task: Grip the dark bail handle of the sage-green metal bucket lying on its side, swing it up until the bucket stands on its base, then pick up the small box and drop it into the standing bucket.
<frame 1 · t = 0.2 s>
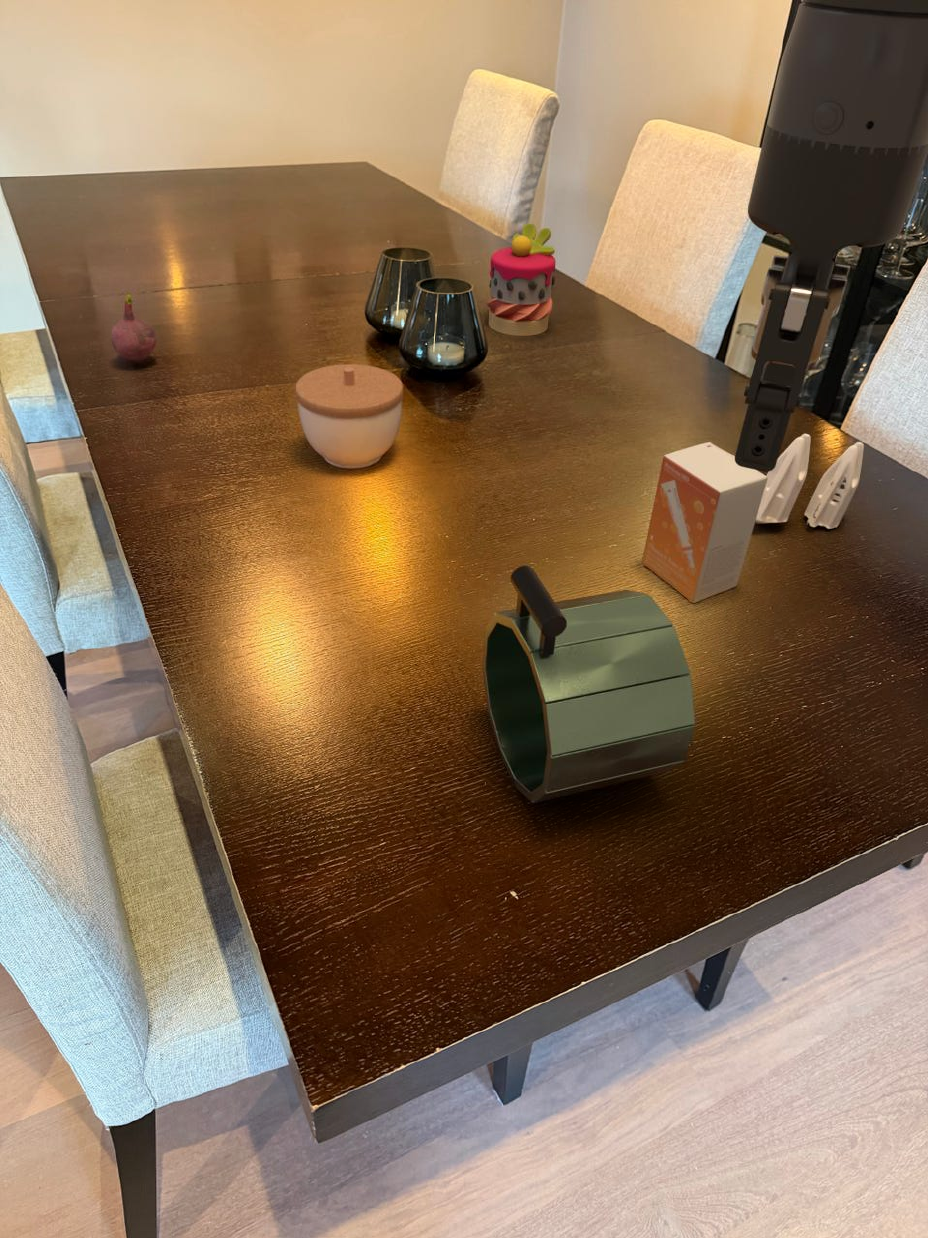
hand: (763, 434, 52), 30 cm above the table, tool pointing down, fingers open, 8 cm apart
shaker set: (793, 524, 102), on the table
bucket: (584, 675, 67), point 9 cm above the table, hinge at 0.0°
cake: (518, 325, 148), on the table
vegetable: (138, 365, 129), on the table
lidded bowl: (352, 455, 111), on the table
small box: (687, 577, 93), on the table
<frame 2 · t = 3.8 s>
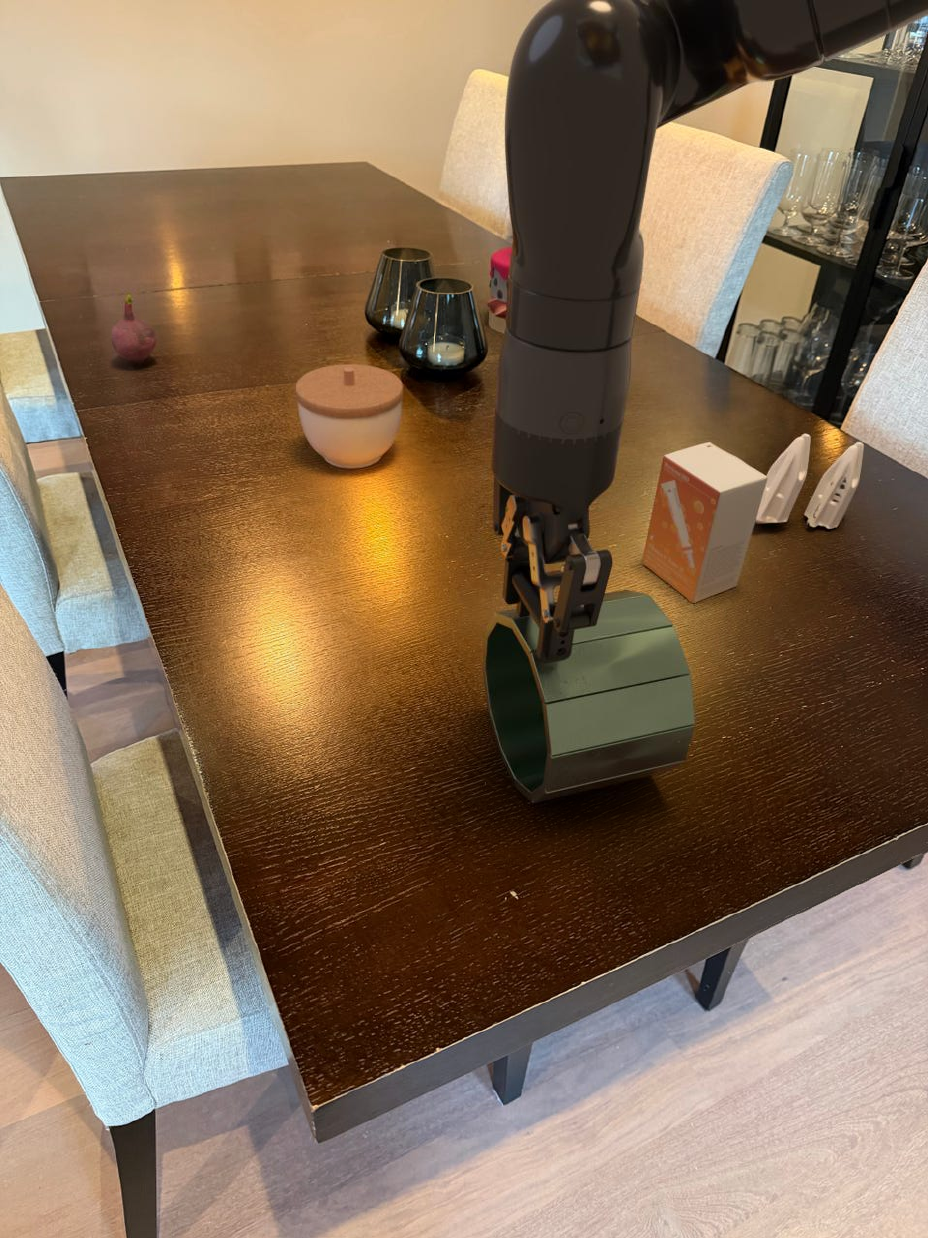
hand: (534, 627, 62), 14 cm above the table, tool pointing down, fingers closed on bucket, 6 cm apart
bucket: (584, 675, 67), point 9 cm above the table, hinge at 0.0°, touching gripper
everything else where it was.
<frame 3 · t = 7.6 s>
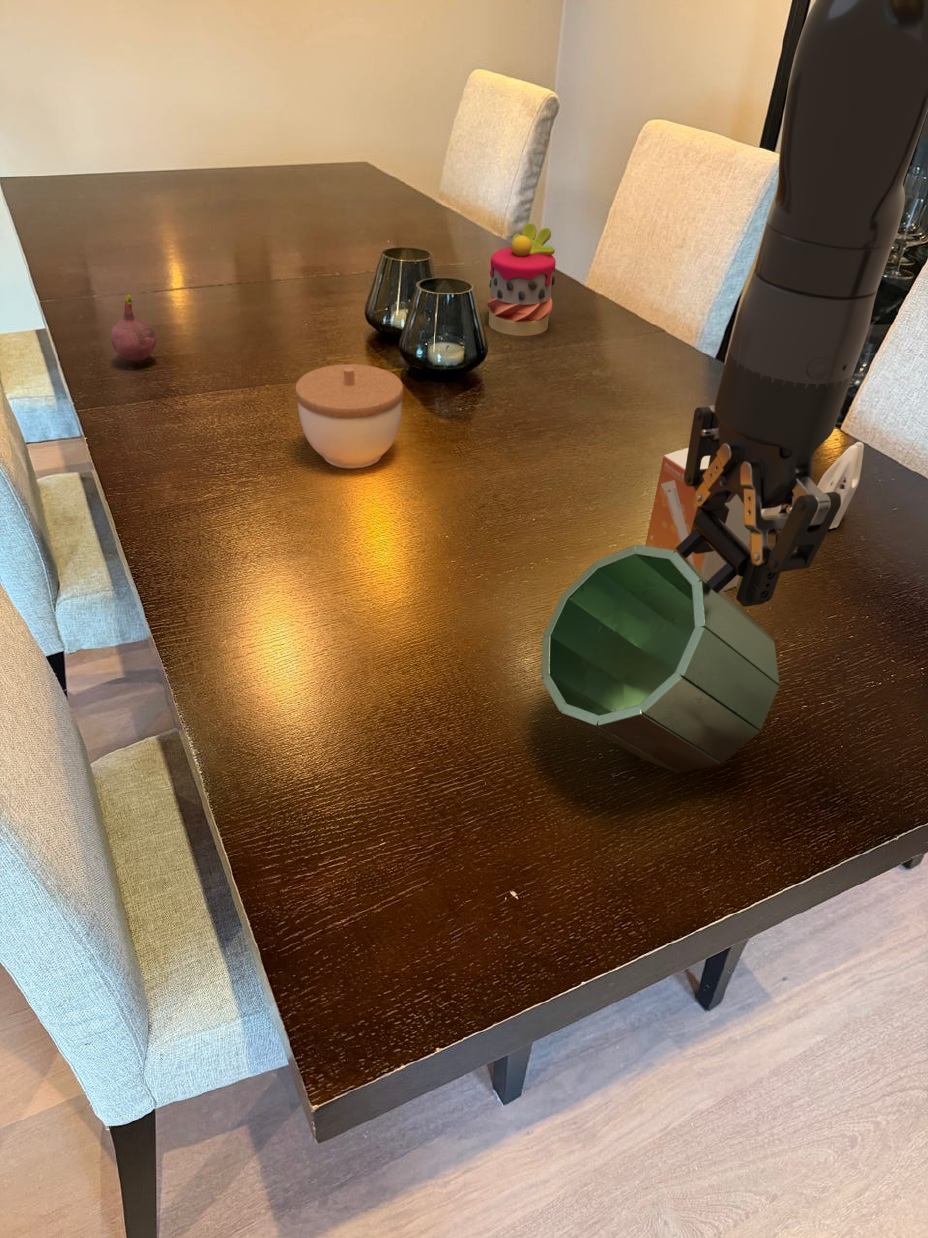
hand: (725, 574, 65), 16 cm above the table, tool pointing down, fingers closed on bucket, 6 cm apart
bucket: (675, 644, 68), point 10 cm above the table, hinge at 42.6°, touching gripper
everything else where it was.
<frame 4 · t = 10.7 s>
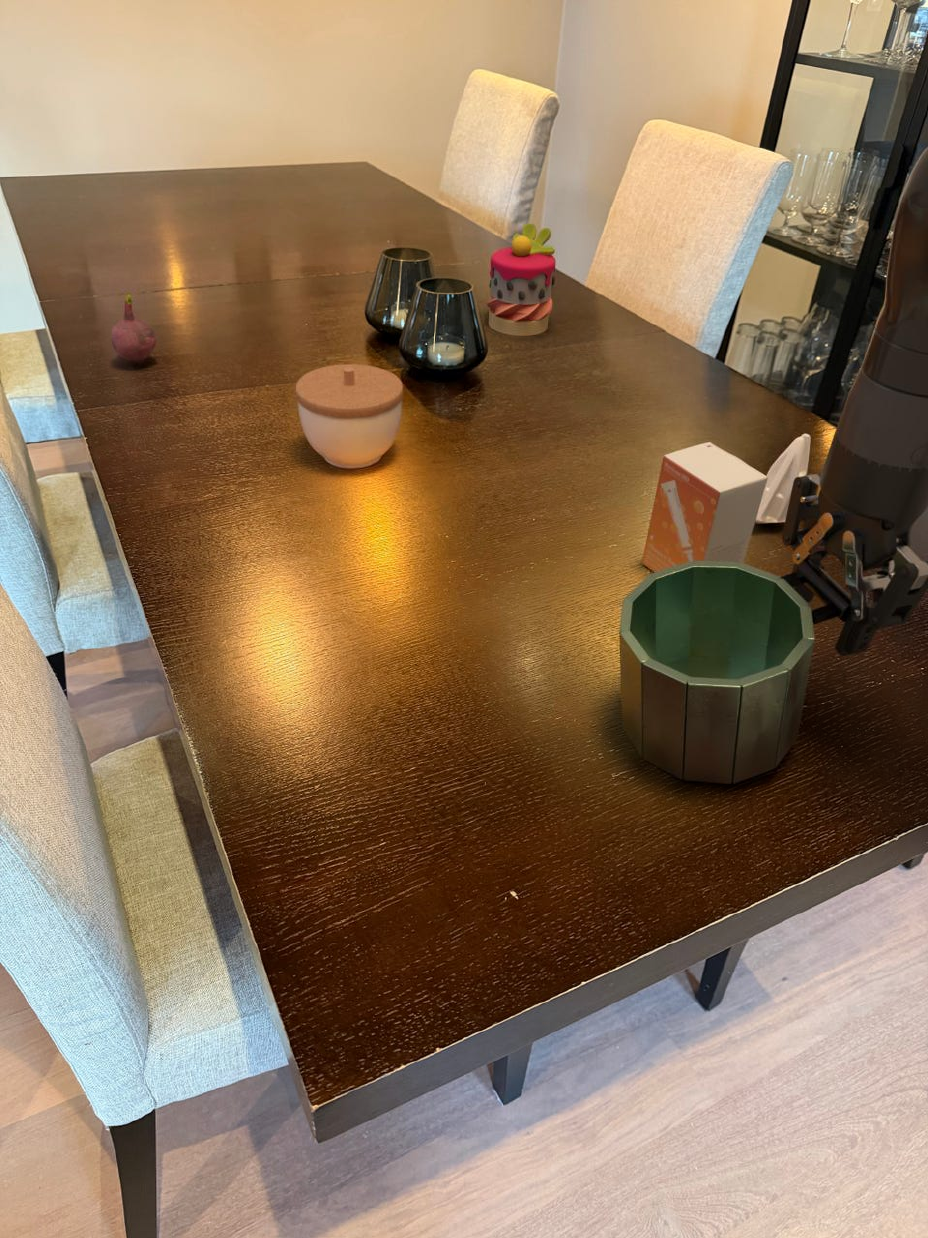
hand: (822, 625, 72), 9 cm above the table, tool pointing down, fingers closed on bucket, 6 cm apart
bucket: (731, 662, 72), point 7 cm above the table, hinge at 79.5°, touching gripper
everything else where it was.
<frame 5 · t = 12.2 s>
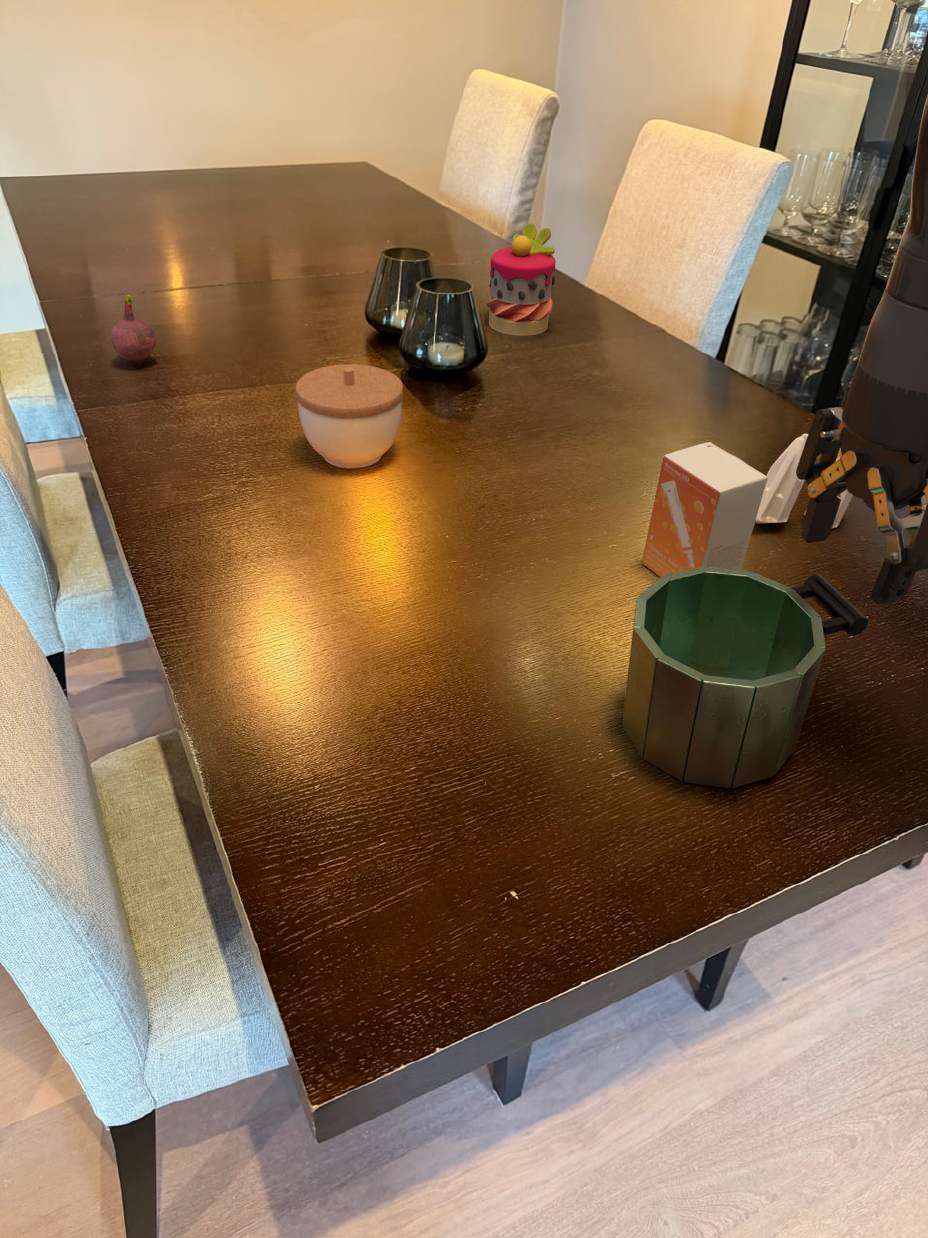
hand: (847, 568, 69), 15 cm above the table, tool pointing down, fingers open, 8 cm apart
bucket: (737, 669, 72), point 6 cm above the table, hinge at 85.8°
everything else where it was.
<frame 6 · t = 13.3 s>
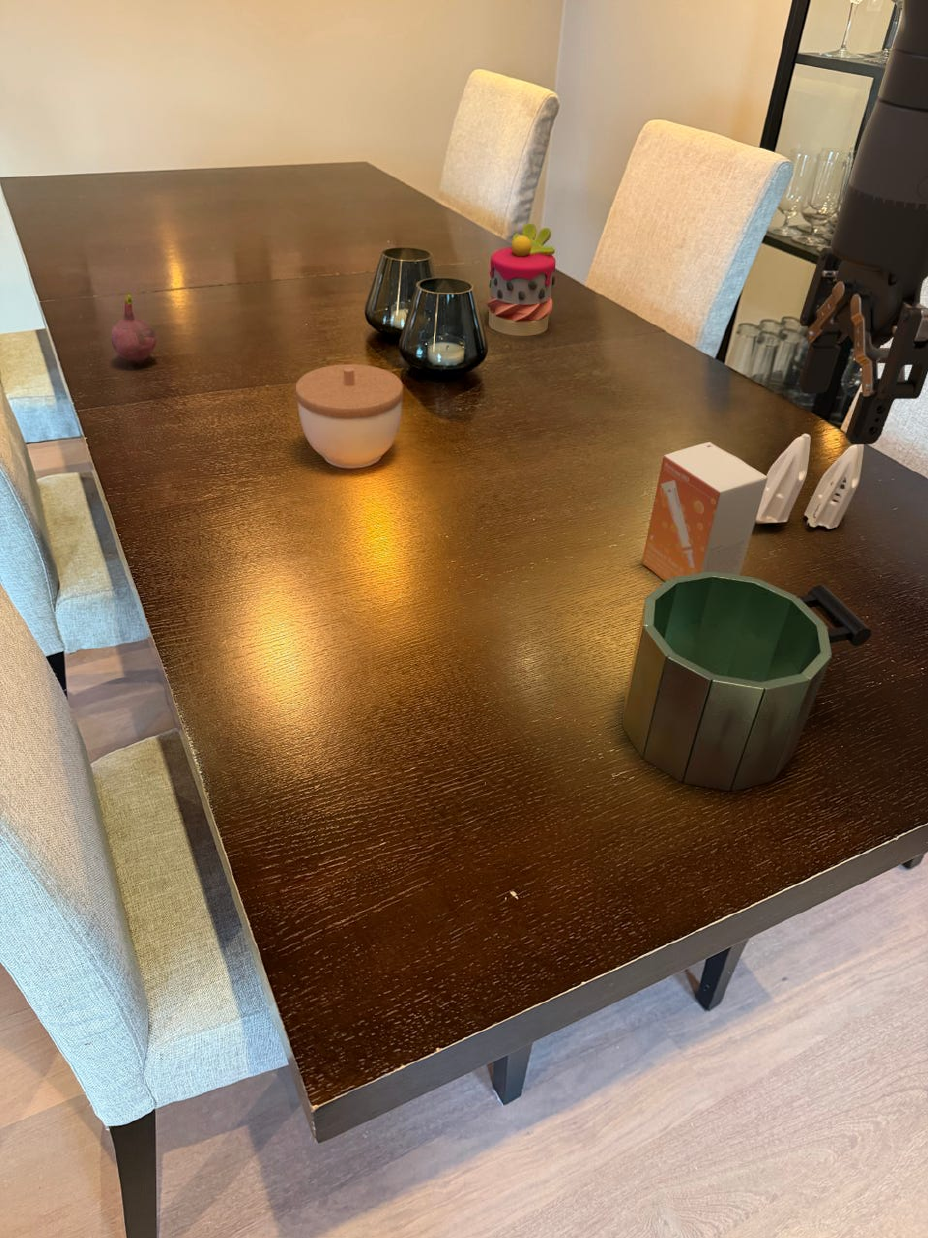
hand: (834, 415, 68), 24 cm above the table, tool pointing down, fingers open, 8 cm apart
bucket: (739, 673, 73), point 5 cm above the table, hinge at 90.0°
everything else where it was.
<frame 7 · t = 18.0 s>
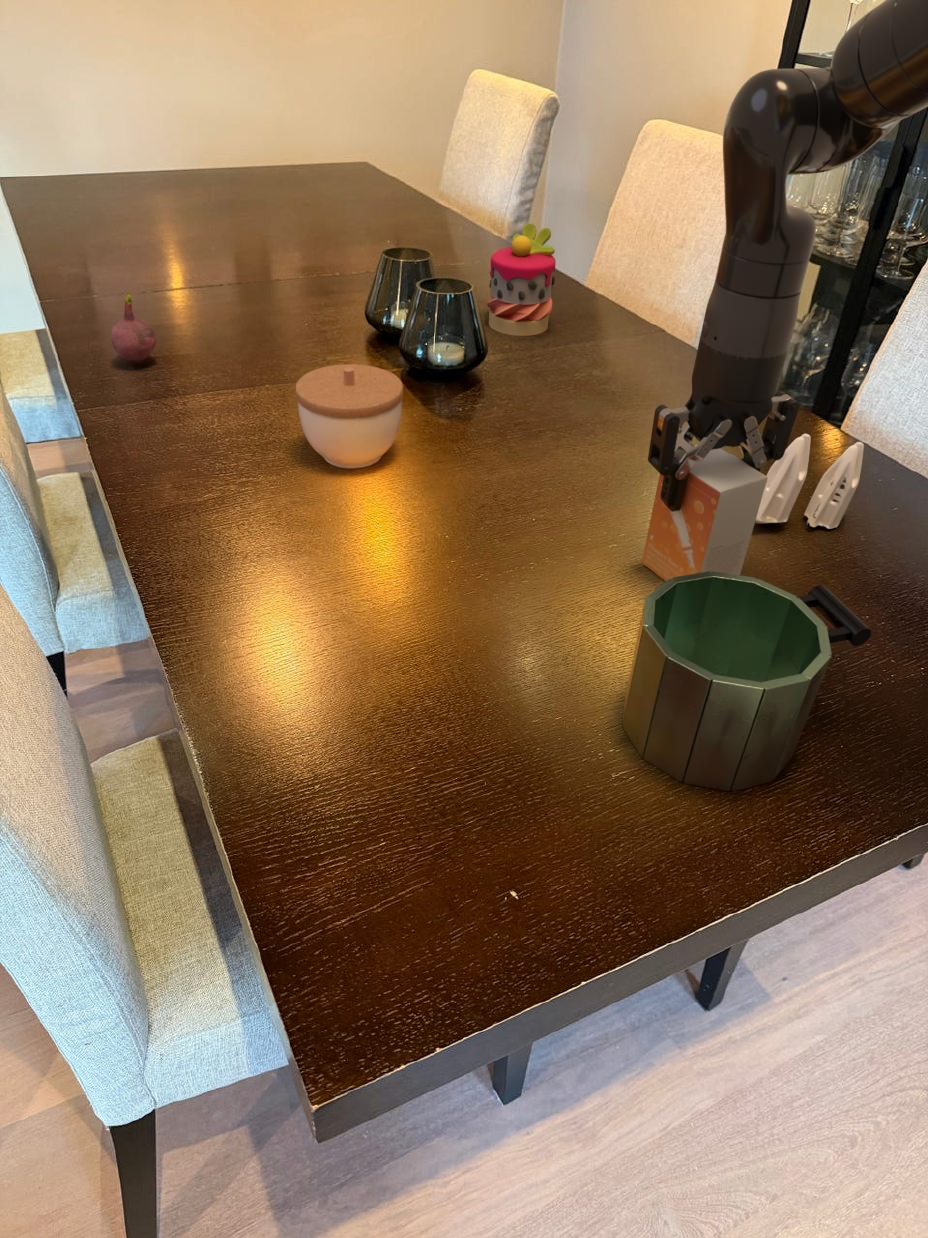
hand: (705, 501, 88), 9 cm above the table, tool pointing down, fingers closed on small box, 7 cm apart
small box: (687, 577, 93), on the table, touching gripper
everything else where it was.
when the fingers open (10 cm above the table, at t = 26.3 s): small box stays where it is, resting on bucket.
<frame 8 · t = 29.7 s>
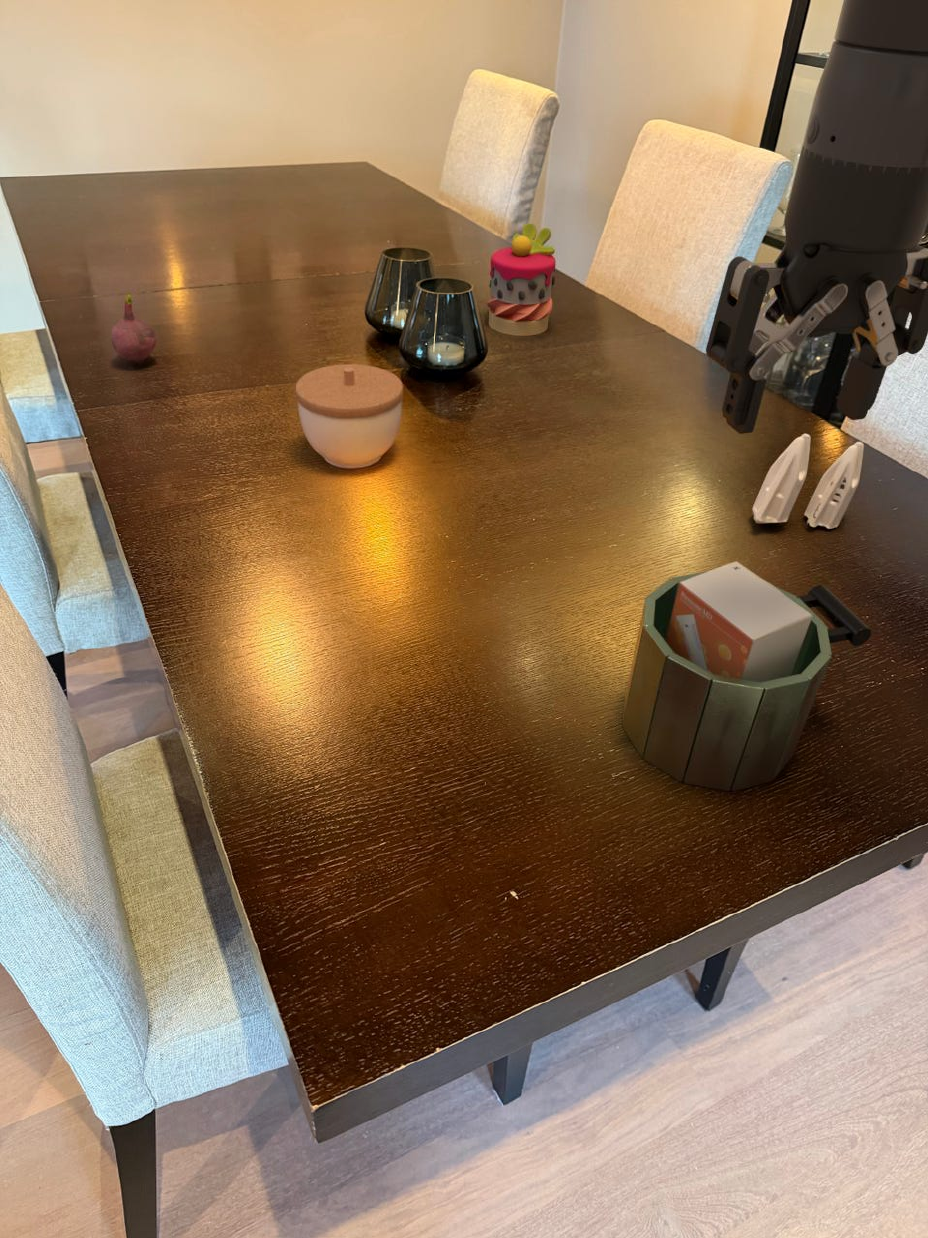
hand: (795, 421, 58), 28 cm above the table, tool pointing down, fingers open, 8 cm apart
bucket: (739, 673, 73), point 5 cm above the table, hinge at 90.0°, touching small box
small box: (708, 721, 75), point 1 cm above the table, touching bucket
everything else where it was.
at the end: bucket at +90° (first picture: +0°); small box inside the target area (0.1 cm from its centre), point 0.6 cm above the table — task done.
